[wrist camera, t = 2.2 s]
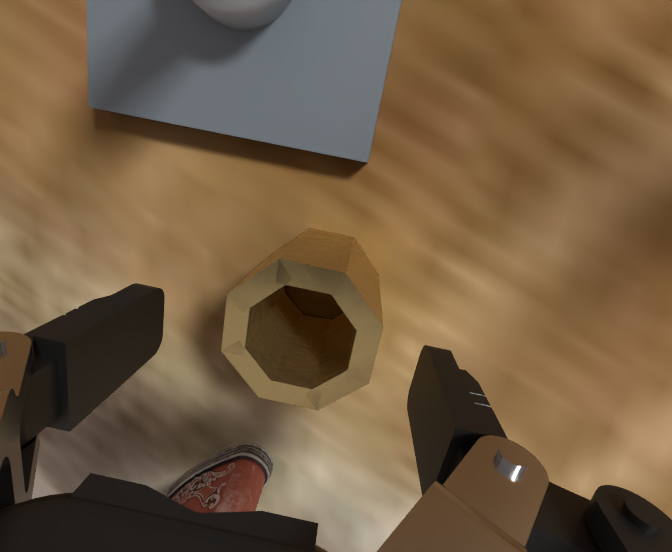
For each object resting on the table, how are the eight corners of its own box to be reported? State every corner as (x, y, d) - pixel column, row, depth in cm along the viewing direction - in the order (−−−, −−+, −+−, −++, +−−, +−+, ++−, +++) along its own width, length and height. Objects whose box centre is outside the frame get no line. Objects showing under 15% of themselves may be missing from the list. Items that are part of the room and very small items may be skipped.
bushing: (385, 244, 17) (394, 283, 11) (362, 341, 18) (359, 419, 13) (278, 221, 17) (231, 248, 11) (264, 320, 18) (217, 388, 13)
